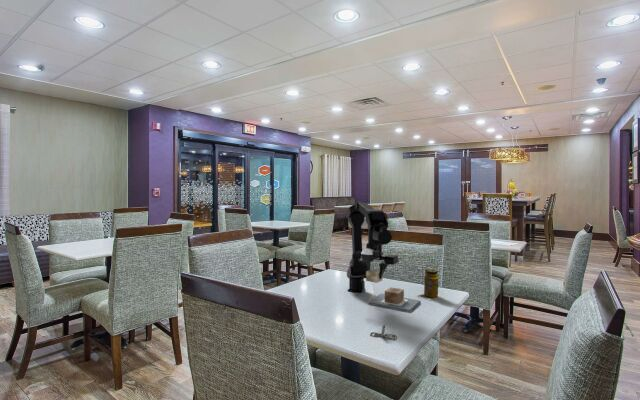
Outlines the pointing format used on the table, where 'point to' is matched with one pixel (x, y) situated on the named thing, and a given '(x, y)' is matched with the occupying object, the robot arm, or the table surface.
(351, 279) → the robot arm
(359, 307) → the table surface
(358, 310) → the table surface
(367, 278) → the birch cube
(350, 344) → the table surface
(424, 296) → the condiment
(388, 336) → the strap clip
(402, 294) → the walnut block
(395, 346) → the table surface
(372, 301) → the board
